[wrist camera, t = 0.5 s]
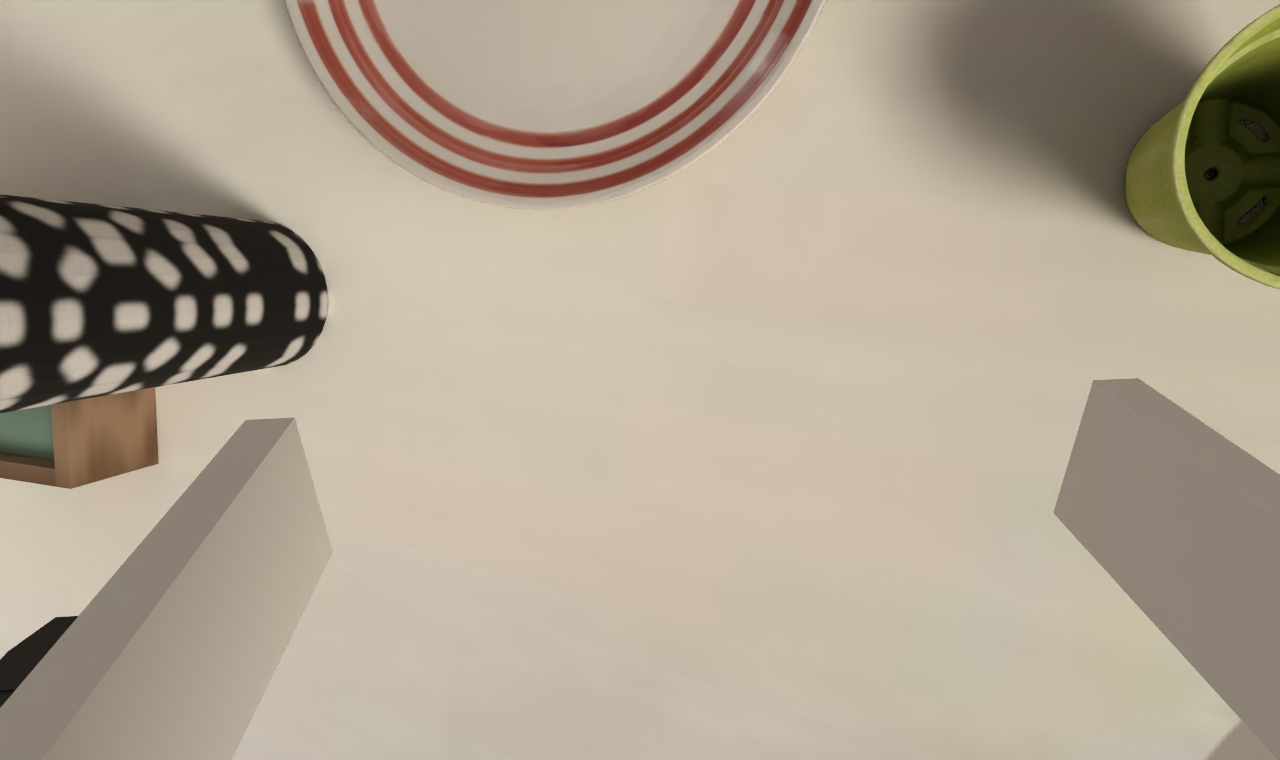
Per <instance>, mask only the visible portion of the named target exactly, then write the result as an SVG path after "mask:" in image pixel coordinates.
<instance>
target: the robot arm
mask: <svg viewBox="0 0 1280 760" xmlns="http://www.w3.org/2000/svg"><path fill="white" fill-rule="evenodd" d="M1053 513H1054V514H1055V515H1056V516H1057V517H1058V518H1059V520H1060V521H1061V522H1062V523H1063V524H1064V525H1065V526H1066V527H1067V528H1068V529H1069V531H1070V532H1071V533H1072V534H1073V535H1074V536H1075V537H1076V538H1077V539H1078V540H1079V542H1080V543H1081V544H1082V545H1083V546H1084V547H1085V548H1086V549H1087V550H1088V551H1089V553H1090V554H1091V555H1092V556H1093V557H1094V558H1095V559H1096V560H1097V561H1098V562H1099V564H1100V565H1101V566H1102V567H1103V568H1104V569H1105V570H1106V571H1107V572H1108V573H1109V575H1110V576H1111V577H1112V578H1113V579H1114V580H1115V581H1116V582H1117V583H1118V584H1119V586H1120V587H1121V588H1122V589H1123V590H1124V591H1125V592H1126V593H1127V594H1128V595H1129V597H1130V598H1131V599H1132V600H1133V601H1134V602H1135V603H1136V604H1137V605H1138V606H1139V608H1140V609H1141V610H1142V611H1143V612H1144V613H1145V614H1146V615H1147V616H1148V617H1149V619H1150V620H1151V621H1152V622H1153V623H1154V624H1155V625H1156V626H1157V627H1158V628H1159V630H1160V631H1161V632H1162V633H1163V634H1164V635H1165V636H1166V637H1167V638H1168V639H1169V641H1170V642H1171V643H1172V644H1173V645H1174V646H1175V647H1176V648H1177V649H1178V650H1179V652H1180V653H1181V654H1182V655H1183V656H1184V657H1185V658H1186V659H1187V660H1188V661H1189V663H1190V664H1191V665H1192V666H1193V667H1194V668H1195V669H1196V670H1197V671H1198V672H1199V674H1200V675H1201V676H1202V677H1203V678H1204V679H1205V680H1206V681H1207V682H1208V683H1209V685H1210V686H1211V687H1212V688H1213V689H1214V690H1215V691H1216V692H1217V693H1218V694H1219V696H1220V697H1221V698H1222V699H1223V700H1224V701H1225V702H1226V703H1227V704H1228V705H1229V707H1230V708H1231V709H1232V710H1233V711H1234V712H1235V713H1236V714H1237V715H1238V716H1239V718H1240V719H1241V720H1242V721H1243V722H1244V723H1245V724H1246V725H1247V726H1248V727H1249V729H1250V730H1252V732H1253V733H1254V734H1255V735H1256V736H1257V737H1258V738H1259V740H1261V742H1262V743H1263V744H1264V745H1265V746H1266V747H1267V748H1268V749H1269V750H1270V751H1271V753H1272V754H1273V755H1274V756H1275V757H1276V758H1277V759H1278V760H1280V475H1279V474H1278V473H1276V472H1275V471H1273V470H1272V469H1271V468H1269V467H1268V466H1266V465H1265V464H1263V463H1262V462H1260V461H1259V460H1257V459H1256V458H1254V457H1253V456H1251V455H1250V454H1248V453H1247V452H1246V451H1244V450H1243V449H1241V448H1240V447H1238V446H1237V445H1235V444H1234V443H1232V442H1231V441H1229V440H1228V439H1226V438H1225V437H1223V436H1222V435H1221V434H1219V433H1218V432H1216V431H1215V430H1213V429H1212V428H1210V427H1209V426H1207V425H1206V424H1204V423H1203V422H1201V421H1200V420H1198V419H1197V418H1196V417H1194V416H1193V415H1191V414H1190V413H1188V412H1187V411H1185V410H1184V409H1182V408H1181V407H1179V406H1178V405H1176V404H1175V403H1173V402H1172V401H1171V400H1169V399H1168V398H1166V397H1165V396H1163V395H1162V394H1160V393H1159V392H1157V391H1156V390H1154V389H1153V388H1151V387H1150V386H1148V385H1147V384H1146V383H1144V382H1143V381H1141V380H1140V379H1138V378H1134V379H1113V380H1093V383H1092V387H1091V390H1090V393H1089V396H1088V400H1087V403H1086V406H1085V410H1084V413H1083V416H1082V420H1081V423H1080V426H1079V430H1078V433H1077V436H1076V440H1075V443H1074V446H1073V450H1072V453H1071V456H1070V459H1069V463H1068V466H1067V469H1066V473H1065V476H1064V479H1063V483H1062V486H1061V489H1060V493H1059V496H1058V499H1057V503H1056V506H1055V509H1054V512H1053ZM332 552H333V551H332V548H331V544H330V541H329V537H328V534H327V530H326V527H325V523H324V520H323V516H322V513H321V509H320V506H319V502H318V499H317V495H316V491H315V488H314V484H313V481H312V477H311V474H310V470H309V467H308V463H307V460H306V456H305V453H304V449H303V446H302V442H301V439H300V435H299V431H298V428H297V424H296V421H295V418H279V419H258V420H246V421H245V422H244V423H243V424H242V425H241V426H240V428H239V429H238V430H237V431H236V432H235V433H234V435H233V436H232V437H231V438H230V439H229V440H228V442H227V443H226V444H225V445H224V446H223V447H222V449H221V450H220V451H219V452H218V453H217V455H216V456H215V457H214V458H213V459H212V460H211V462H210V463H209V464H208V465H207V466H206V467H205V469H204V470H203V471H202V472H201V473H200V474H199V476H198V477H197V478H196V479H195V480H194V481H193V483H192V484H191V485H190V486H189V487H188V489H187V490H186V491H185V492H184V493H183V494H182V496H181V497H180V498H179V499H178V500H177V501H176V503H175V504H174V505H173V506H172V507H171V508H170V510H169V511H168V512H167V513H166V514H165V515H164V517H163V518H162V519H161V520H160V521H159V523H158V524H157V525H156V526H155V527H154V528H153V530H152V531H151V532H150V533H149V534H148V535H147V537H146V538H145V539H144V540H143V541H142V542H141V544H140V545H139V546H138V547H137V548H136V549H135V551H134V552H133V553H132V554H131V555H130V557H129V558H128V559H127V560H126V561H125V562H124V564H123V565H122V566H121V567H120V568H119V569H118V571H117V572H116V573H115V574H114V575H113V576H112V578H111V579H110V580H109V581H108V582H107V583H106V585H105V586H104V587H103V588H102V589H101V590H100V592H99V593H98V594H97V595H96V596H95V598H94V599H93V600H92V601H91V602H90V603H89V605H88V606H87V607H86V608H85V609H84V610H83V612H82V613H81V614H80V615H79V616H71V617H56V618H54V619H53V620H51V621H50V622H49V623H47V624H46V625H44V626H43V627H42V628H40V629H39V630H37V631H36V632H35V633H33V634H32V635H30V636H29V637H28V638H26V639H25V640H23V641H22V642H21V643H19V644H18V645H17V646H15V647H14V648H12V649H11V650H10V651H8V652H7V653H6V654H5V655H4V656H3V657H2V659H1V660H0V760H232V758H233V756H234V754H235V751H236V749H237V747H238V745H239V743H240V741H241V739H242V737H243V735H244V733H245V731H246V729H247V727H248V725H249V723H250V721H251V719H252V716H253V714H254V712H255V710H256V708H257V706H258V704H259V702H260V700H261V698H262V696H263V694H264V692H265V690H266V688H267V686H268V684H269V681H270V679H271V677H272V675H273V673H274V671H275V669H276V667H277V665H278V663H279V661H280V659H281V657H282V655H283V653H284V651H285V649H286V646H287V644H288V642H289V640H290V638H291V636H292V634H293V632H294V630H295V628H296V626H297V624H298V622H299V620H300V618H301V616H302V614H303V612H304V609H305V607H306V605H307V603H308V601H309V599H310V597H311V595H312V593H313V591H314V589H315V587H316V585H317V583H318V581H319V579H320V577H321V574H322V572H323V570H324V568H325V566H326V564H327V562H328V560H329V558H330V556H331V554H332Z"/></svg>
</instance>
